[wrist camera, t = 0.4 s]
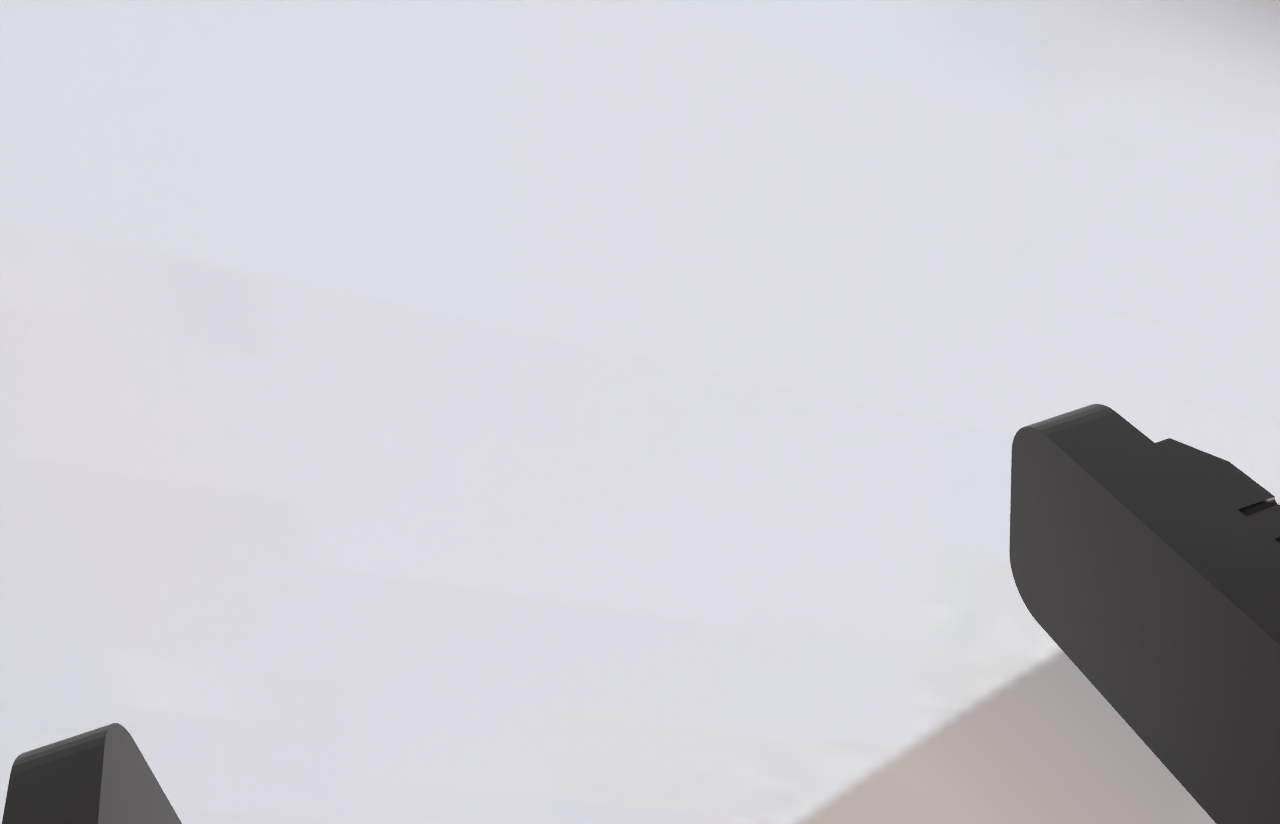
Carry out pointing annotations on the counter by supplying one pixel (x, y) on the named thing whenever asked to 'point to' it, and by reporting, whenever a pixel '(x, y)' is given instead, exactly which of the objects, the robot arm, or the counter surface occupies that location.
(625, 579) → the counter surface
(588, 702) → the counter surface
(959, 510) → the counter surface
